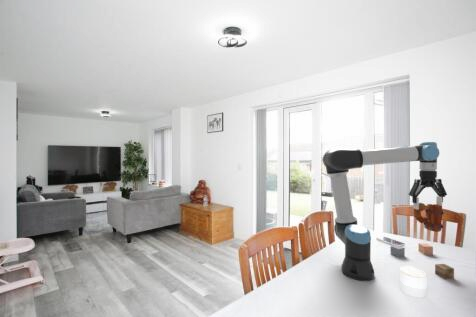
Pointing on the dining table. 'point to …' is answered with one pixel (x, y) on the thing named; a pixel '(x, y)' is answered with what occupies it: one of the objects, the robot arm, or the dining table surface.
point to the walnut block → (444, 271)
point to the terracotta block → (425, 249)
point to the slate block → (397, 251)
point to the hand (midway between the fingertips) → (427, 208)
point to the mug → (430, 216)
